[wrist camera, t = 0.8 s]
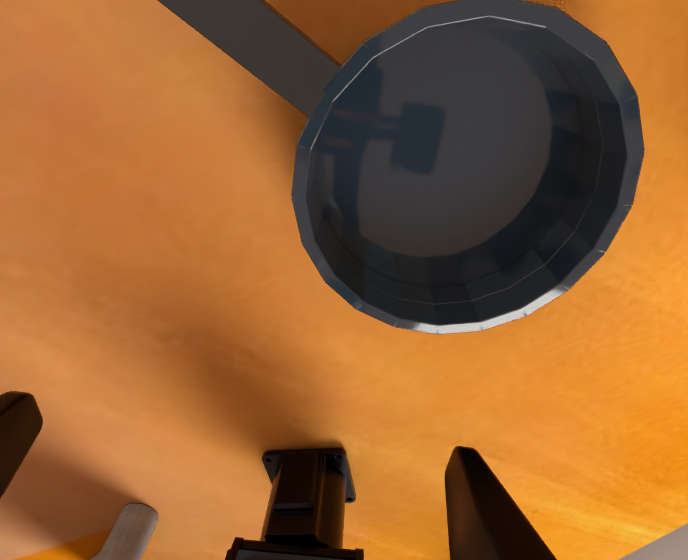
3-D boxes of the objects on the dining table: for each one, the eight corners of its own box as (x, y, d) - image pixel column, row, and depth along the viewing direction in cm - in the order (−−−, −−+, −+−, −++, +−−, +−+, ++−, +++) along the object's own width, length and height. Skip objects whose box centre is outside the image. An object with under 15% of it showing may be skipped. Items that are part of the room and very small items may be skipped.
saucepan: (569, 277, 21) (606, 321, 18) (331, 299, 23) (323, 344, 20) (616, -23, 15) (689, -43, 11) (278, 39, 17) (254, 37, 13)
